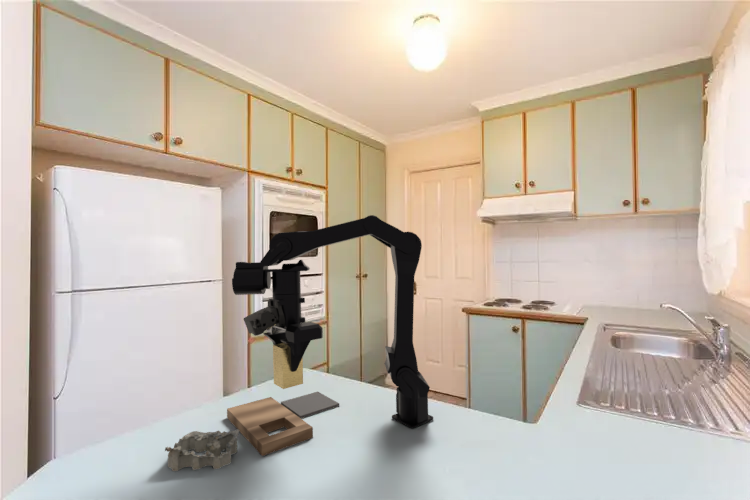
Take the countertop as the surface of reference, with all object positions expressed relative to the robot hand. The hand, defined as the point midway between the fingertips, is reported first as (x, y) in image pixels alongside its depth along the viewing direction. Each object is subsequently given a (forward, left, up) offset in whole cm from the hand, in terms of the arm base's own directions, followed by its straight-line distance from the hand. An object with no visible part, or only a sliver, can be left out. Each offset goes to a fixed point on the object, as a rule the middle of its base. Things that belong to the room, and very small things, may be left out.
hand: (288, 368), depth 75 cm
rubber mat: (+6, -8, -12) cm, 16 cm away
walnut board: (+2, +4, -12) cm, 13 cm away
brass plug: (0, 0, -3) cm, 3 cm away
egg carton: (-1, +17, -12) cm, 21 cm away
